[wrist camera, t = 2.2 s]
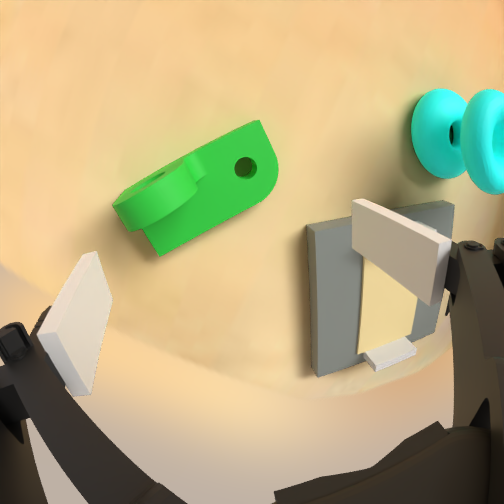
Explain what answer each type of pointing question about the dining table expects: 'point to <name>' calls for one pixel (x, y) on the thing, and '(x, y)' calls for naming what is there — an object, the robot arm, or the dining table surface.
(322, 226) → the grey square plate
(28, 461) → the robot arm
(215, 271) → the dining table surface
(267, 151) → the mechanical part
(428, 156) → the donuts
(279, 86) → the dining table surface
